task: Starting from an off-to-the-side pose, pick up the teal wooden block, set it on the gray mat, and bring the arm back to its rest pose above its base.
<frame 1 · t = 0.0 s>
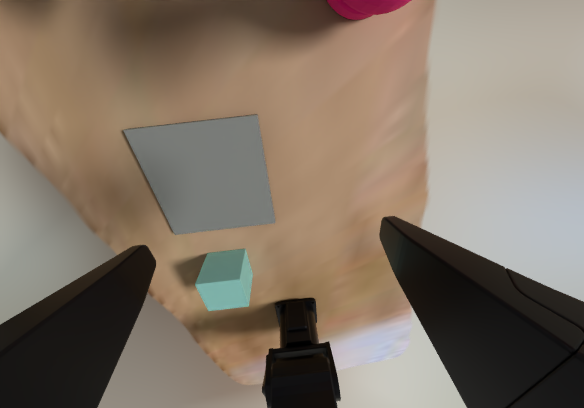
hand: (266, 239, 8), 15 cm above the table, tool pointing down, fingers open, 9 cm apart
teal block: (231, 263, 29), on the table
gray mat: (211, 180, 22), on the table
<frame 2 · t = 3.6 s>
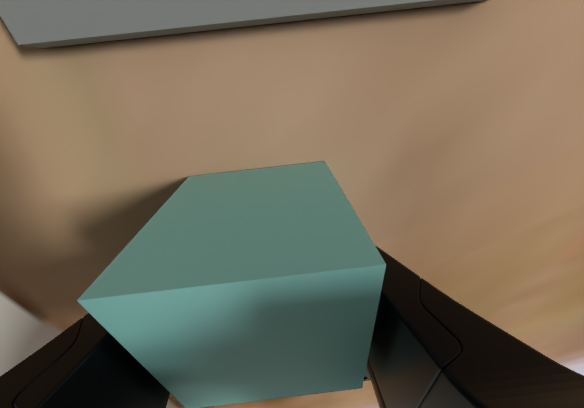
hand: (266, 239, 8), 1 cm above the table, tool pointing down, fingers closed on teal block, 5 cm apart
teal block: (267, 223, 9), on the table, touching gripper
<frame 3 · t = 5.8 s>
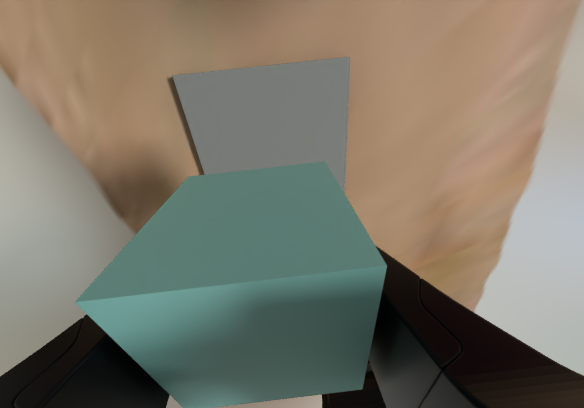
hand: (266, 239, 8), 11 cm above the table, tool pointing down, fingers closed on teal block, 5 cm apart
teal block: (267, 224, 9), point 10 cm above the table, touching gripper
gray mat: (273, 151, 18), on the table
when the fingers open (3 cm above the table, at t = 8.1 s): teal block drops 1 cm, resting on gray mat.
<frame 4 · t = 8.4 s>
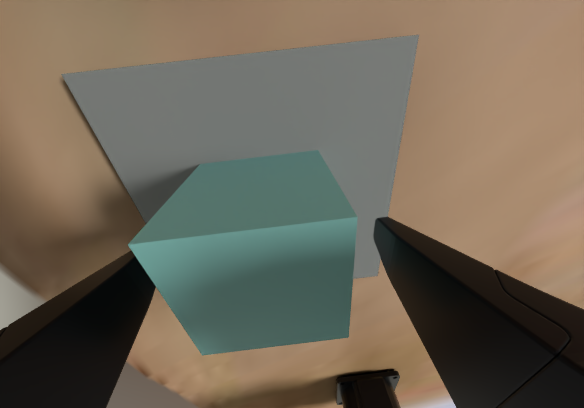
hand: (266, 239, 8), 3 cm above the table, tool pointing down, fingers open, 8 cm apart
teal block: (268, 207, 10), point 1 cm above the table, touching gray mat
gray mat: (268, 200, 11), on the table
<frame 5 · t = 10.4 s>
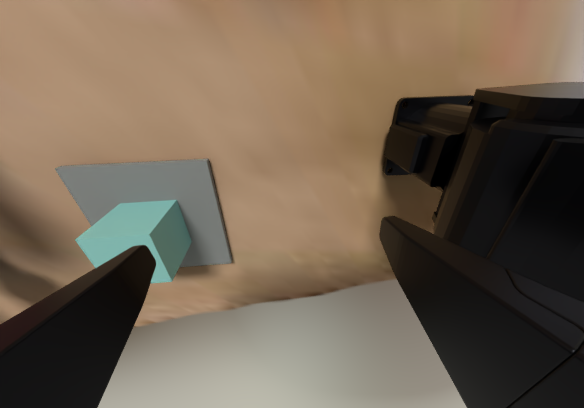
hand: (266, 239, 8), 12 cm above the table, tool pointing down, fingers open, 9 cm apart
teal block: (158, 223, 20), point 1 cm above the table, touching gray mat
gray mat: (160, 220, 21), on the table
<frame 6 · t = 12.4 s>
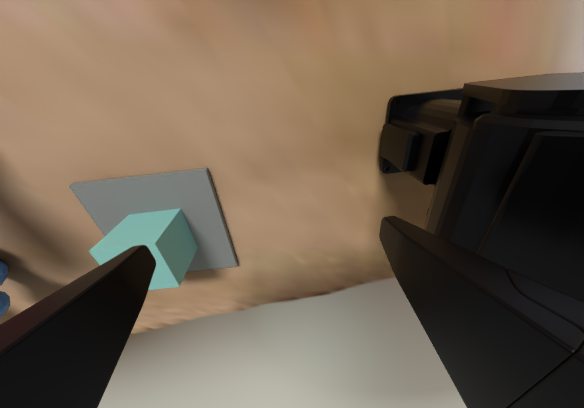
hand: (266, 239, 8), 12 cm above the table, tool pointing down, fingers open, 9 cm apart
teal block: (165, 231, 21), point 1 cm above the table, touching gray mat
grapes: (12, 260, 23), on the table
gray mat: (167, 228, 22), on the table
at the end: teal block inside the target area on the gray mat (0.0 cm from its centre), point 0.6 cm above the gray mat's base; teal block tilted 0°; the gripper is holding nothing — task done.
